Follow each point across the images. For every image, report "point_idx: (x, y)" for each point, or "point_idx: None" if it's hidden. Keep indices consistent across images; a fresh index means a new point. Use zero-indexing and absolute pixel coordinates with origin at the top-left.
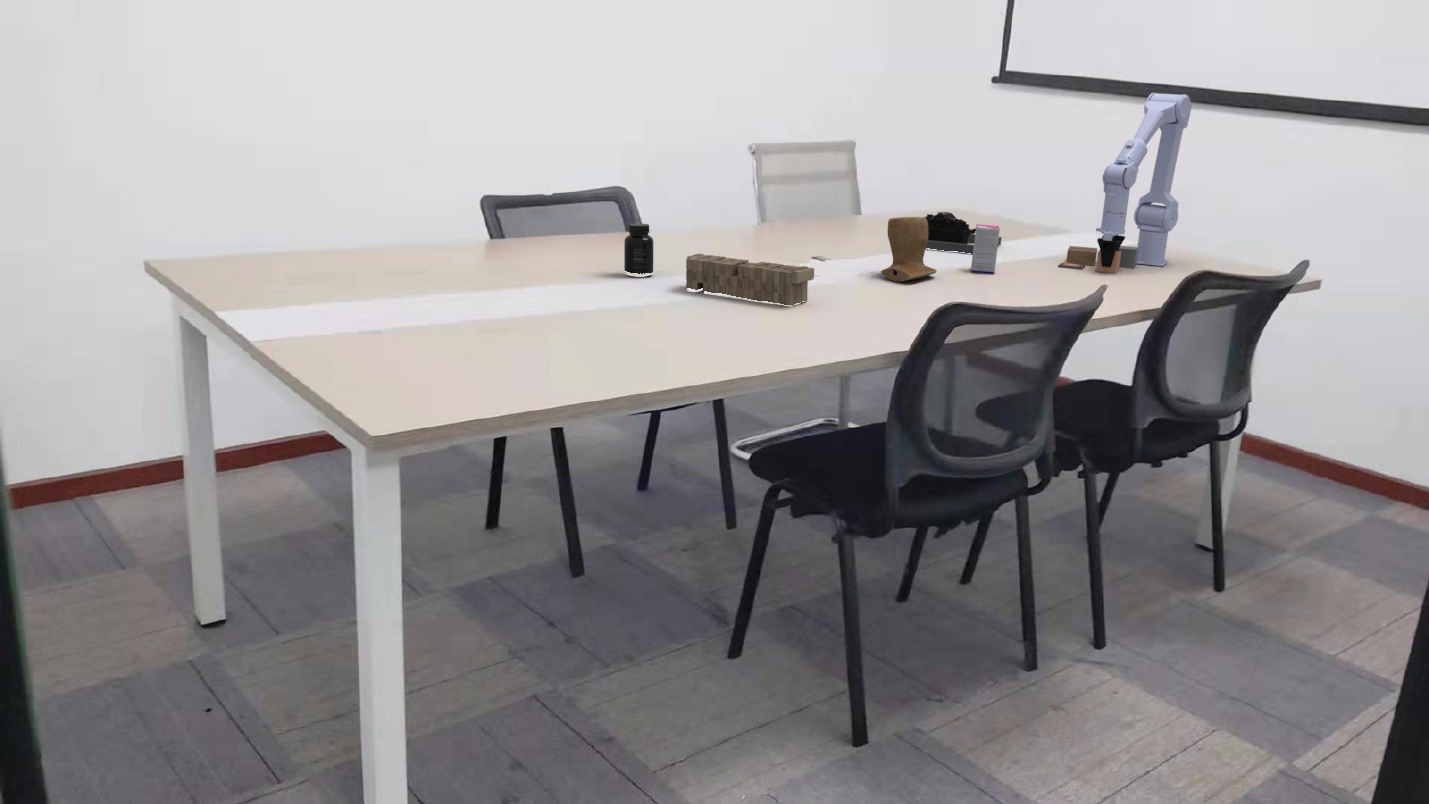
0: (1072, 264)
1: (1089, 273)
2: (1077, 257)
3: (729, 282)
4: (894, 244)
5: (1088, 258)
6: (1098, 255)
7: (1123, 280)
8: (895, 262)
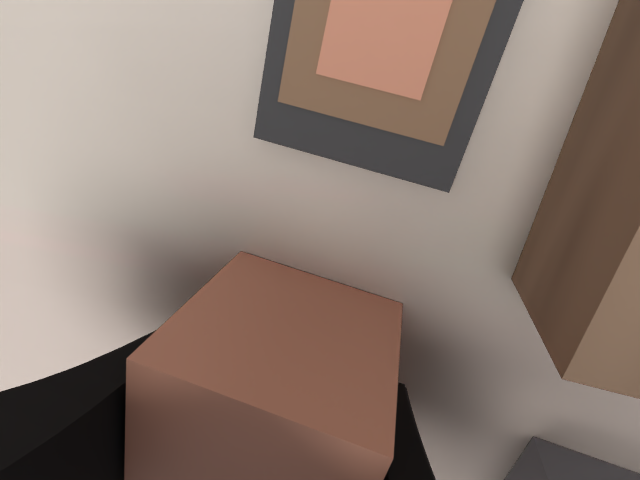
0: (392, 36)
1: (115, 186)
2: (624, 109)
3: None
4: None
5: (557, 255)
6: (154, 336)
7: (14, 355)
8: None
